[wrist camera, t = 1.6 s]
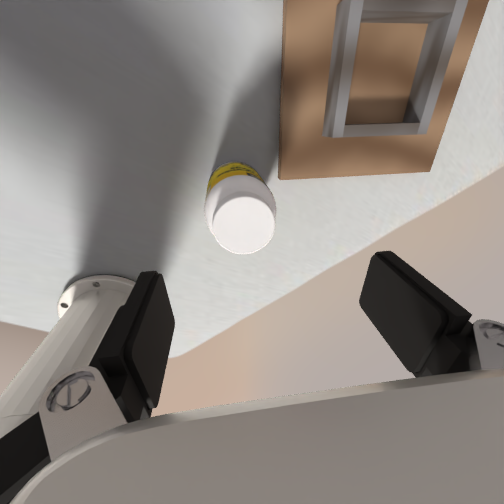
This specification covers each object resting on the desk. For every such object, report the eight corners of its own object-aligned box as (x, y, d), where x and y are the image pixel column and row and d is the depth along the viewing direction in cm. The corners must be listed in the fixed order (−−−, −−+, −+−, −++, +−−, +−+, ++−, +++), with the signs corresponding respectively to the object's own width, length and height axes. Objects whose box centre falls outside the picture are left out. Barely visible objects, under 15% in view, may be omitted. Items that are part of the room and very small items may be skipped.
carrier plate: (422, 169, 28) (448, 176, 25) (277, 177, 26) (286, 185, 23) (495, -55, 19) (550, -89, 16) (285, -67, 18) (300, -108, 14)
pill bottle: (267, 166, 26) (296, 193, 16) (255, 218, 29) (274, 267, 19) (210, 154, 24) (207, 177, 15) (204, 210, 27) (198, 259, 18)
